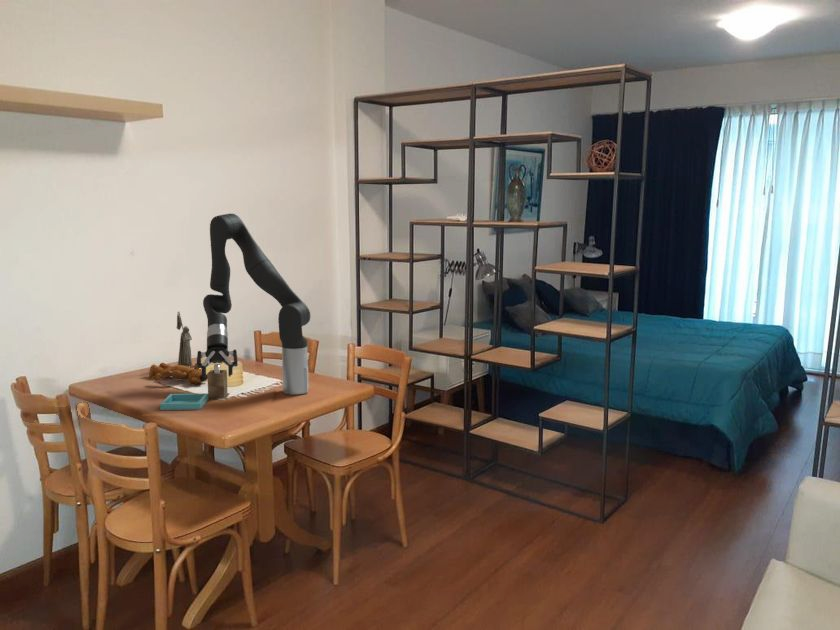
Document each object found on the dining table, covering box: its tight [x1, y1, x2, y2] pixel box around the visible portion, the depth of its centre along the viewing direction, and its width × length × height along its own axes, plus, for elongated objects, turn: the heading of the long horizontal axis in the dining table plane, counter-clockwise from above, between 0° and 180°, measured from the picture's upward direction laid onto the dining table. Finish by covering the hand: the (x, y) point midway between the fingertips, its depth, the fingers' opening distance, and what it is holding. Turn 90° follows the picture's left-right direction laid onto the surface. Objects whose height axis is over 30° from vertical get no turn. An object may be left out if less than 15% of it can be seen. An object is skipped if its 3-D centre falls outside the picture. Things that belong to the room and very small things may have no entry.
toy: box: [148, 362, 208, 386], centre depth 257 cm, size 20×7×30 cm
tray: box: [159, 392, 209, 411], centre depth 224 cm, size 13×12×3 cm
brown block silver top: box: [208, 363, 230, 400], centre depth 234 cm, size 7×7×12 cm
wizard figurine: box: [176, 311, 194, 368], centre depth 273 cm, size 10×8×25 cm
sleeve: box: [206, 369, 229, 398], centre depth 234 cm, size 6×6×9 cm
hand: (217, 376), depth 236 cm, fingers open, 8 cm apart
